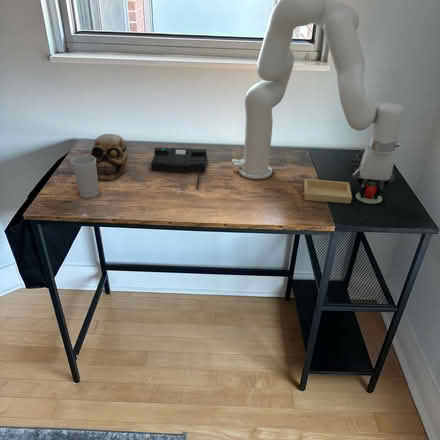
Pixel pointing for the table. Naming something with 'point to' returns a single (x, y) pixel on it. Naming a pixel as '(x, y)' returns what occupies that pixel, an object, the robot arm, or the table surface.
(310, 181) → the tray
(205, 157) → the electronic device
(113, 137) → the brown skull
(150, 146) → the table surface
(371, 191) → the strawberry
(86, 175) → the cup
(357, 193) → the coaster
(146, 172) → the table surface
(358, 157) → the fruit
